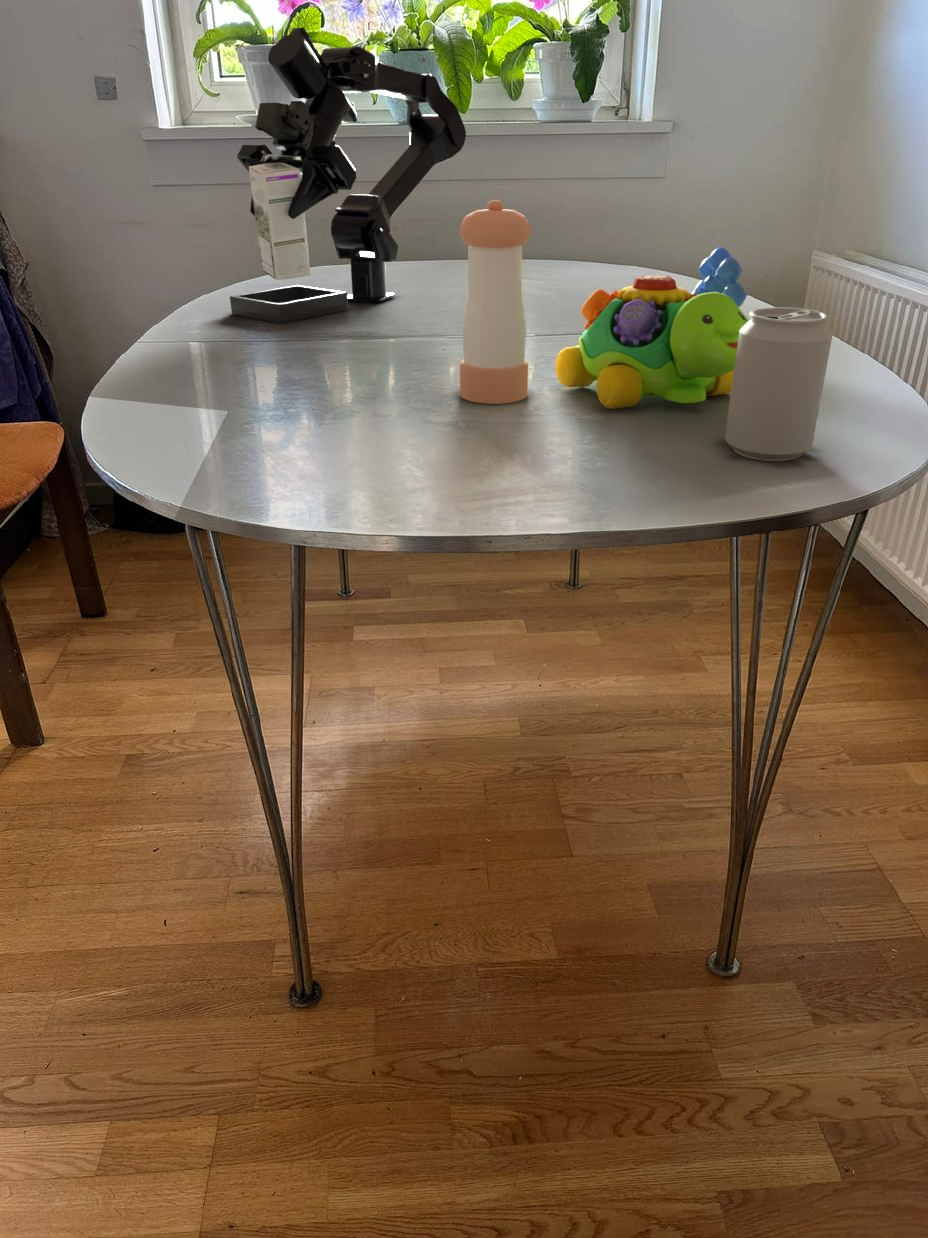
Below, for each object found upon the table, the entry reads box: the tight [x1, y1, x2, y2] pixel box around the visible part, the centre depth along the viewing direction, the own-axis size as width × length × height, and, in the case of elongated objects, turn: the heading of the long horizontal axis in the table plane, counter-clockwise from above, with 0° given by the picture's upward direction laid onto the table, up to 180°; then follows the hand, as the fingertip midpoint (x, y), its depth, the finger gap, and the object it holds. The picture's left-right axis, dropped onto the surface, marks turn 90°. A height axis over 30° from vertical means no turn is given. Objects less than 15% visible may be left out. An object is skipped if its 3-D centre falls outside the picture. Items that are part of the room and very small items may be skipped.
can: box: [724, 306, 833, 462], centre depth 79 cm, size 8×8×12 cm
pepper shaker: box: [459, 199, 532, 405], centre depth 94 cm, size 7×7×19 cm
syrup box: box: [248, 163, 311, 281], centre depth 131 cm, size 6×6×14 cm
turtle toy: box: [555, 275, 750, 410], centre depth 95 cm, size 17×23×12 cm
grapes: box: [690, 246, 748, 308], centre depth 115 cm, size 12×7×12 cm, turn 10°
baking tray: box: [229, 284, 349, 324], centre depth 141 cm, size 14×12×3 cm
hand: (271, 215), depth 130 cm, fingers closed on syrup box, 7 cm apart
